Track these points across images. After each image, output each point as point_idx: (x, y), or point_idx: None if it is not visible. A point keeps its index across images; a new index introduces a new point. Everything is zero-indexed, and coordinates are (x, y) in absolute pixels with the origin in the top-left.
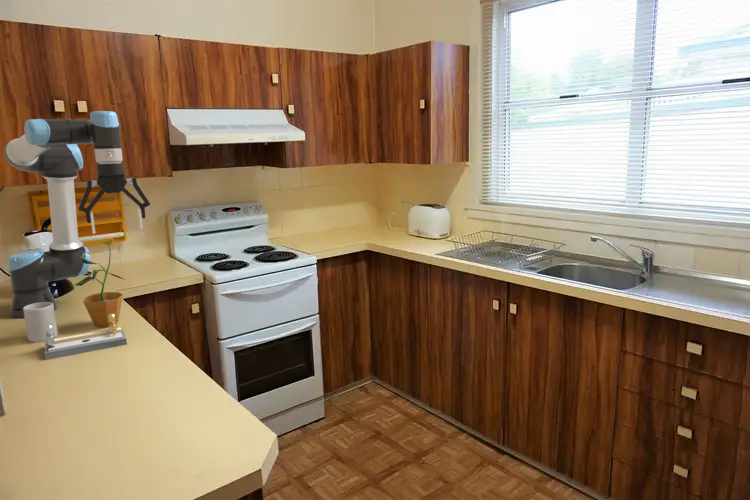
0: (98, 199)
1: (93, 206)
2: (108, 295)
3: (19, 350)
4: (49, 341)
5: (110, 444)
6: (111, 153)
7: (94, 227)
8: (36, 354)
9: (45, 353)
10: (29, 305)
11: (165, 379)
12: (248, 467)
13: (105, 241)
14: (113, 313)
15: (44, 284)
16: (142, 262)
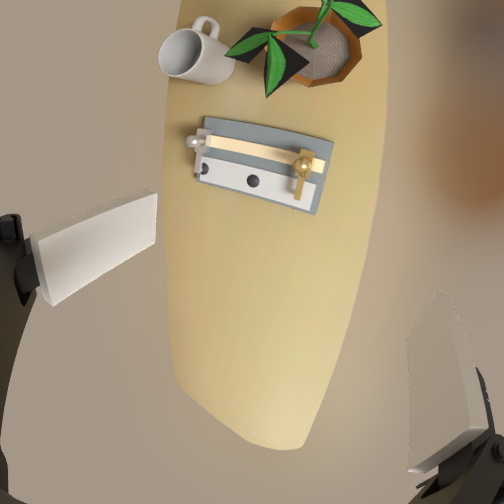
0: (3, 398)
1: (21, 334)
2: (335, 17)
3: (179, 108)
4: (197, 172)
5: (225, 395)
6: None
7: (128, 257)
8: None
9: (197, 181)
10: (170, 37)
11: (298, 360)
12: (275, 448)
13: None
14: (305, 165)
15: None
16: None
